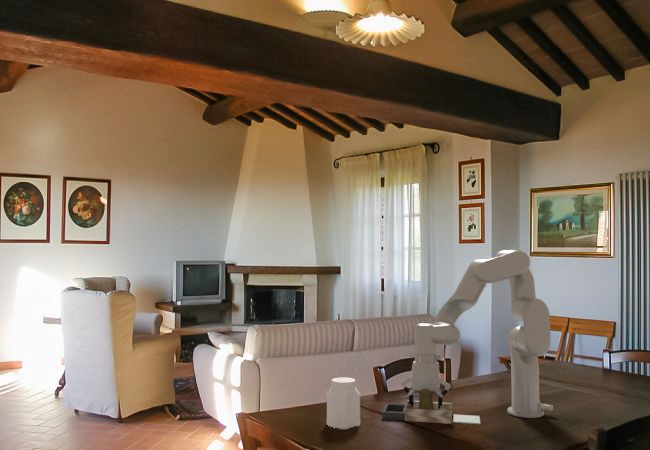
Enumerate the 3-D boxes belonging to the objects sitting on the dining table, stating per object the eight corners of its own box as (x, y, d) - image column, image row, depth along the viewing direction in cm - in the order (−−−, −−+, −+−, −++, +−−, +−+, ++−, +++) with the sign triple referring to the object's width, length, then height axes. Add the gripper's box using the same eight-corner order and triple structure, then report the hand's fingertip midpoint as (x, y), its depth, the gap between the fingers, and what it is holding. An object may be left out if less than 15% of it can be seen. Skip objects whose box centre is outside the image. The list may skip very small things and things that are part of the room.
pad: (479, 417, 208) (479, 415, 208) (480, 424, 199) (480, 423, 199) (453, 415, 210) (453, 414, 210) (453, 422, 201) (453, 421, 201)
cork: (434, 420, 204) (434, 388, 204) (417, 419, 205) (416, 387, 205) (434, 415, 210) (434, 384, 210) (417, 414, 211) (417, 383, 211)
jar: (339, 430, 191) (339, 384, 192) (321, 424, 199) (321, 379, 199) (365, 424, 199) (365, 379, 199) (346, 418, 206) (346, 375, 207)
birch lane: (452, 414, 211) (452, 403, 211) (451, 423, 199) (451, 411, 200) (407, 411, 215) (407, 400, 215) (404, 420, 203) (404, 409, 203)
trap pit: (407, 411, 215) (407, 404, 215) (404, 420, 203) (404, 413, 203) (386, 410, 217) (386, 403, 217) (381, 419, 205) (381, 411, 205)
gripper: (450, 357, 210) (450, 406, 209) (402, 355, 214) (402, 402, 213) (450, 361, 203) (450, 411, 202) (400, 359, 207) (400, 408, 206)
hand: (425, 407), depth 207 cm, fingers open, 9 cm apart
